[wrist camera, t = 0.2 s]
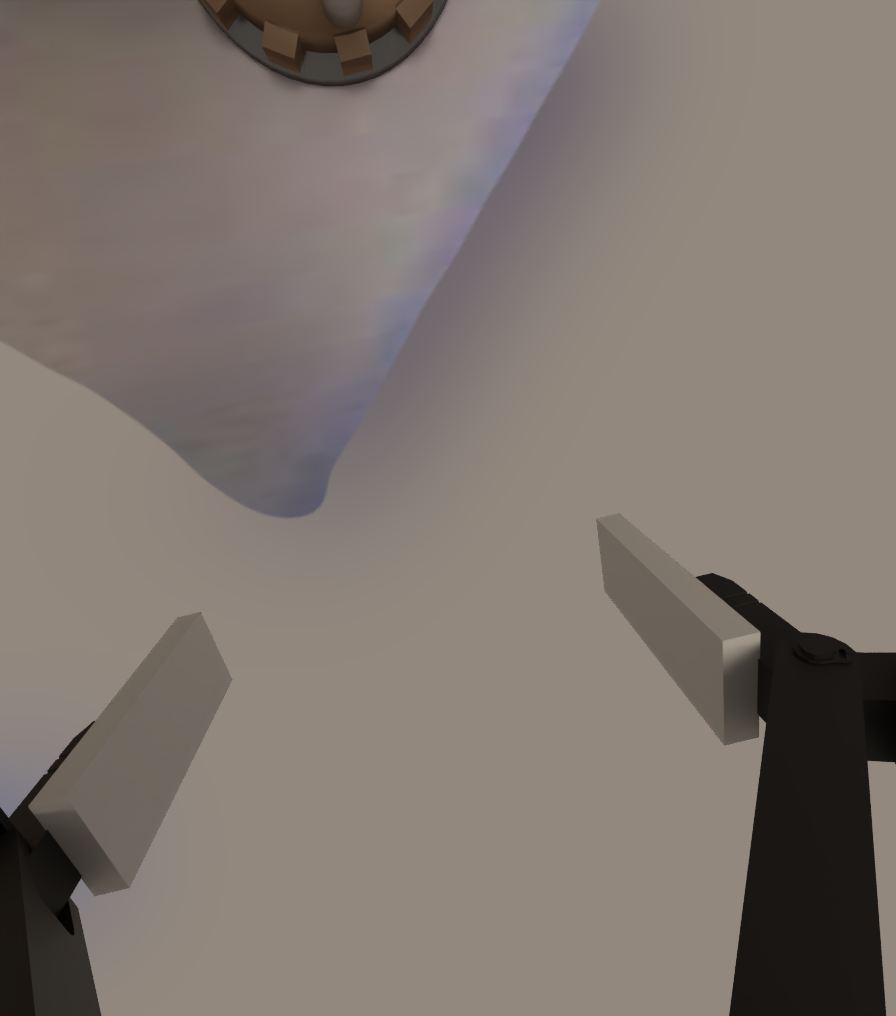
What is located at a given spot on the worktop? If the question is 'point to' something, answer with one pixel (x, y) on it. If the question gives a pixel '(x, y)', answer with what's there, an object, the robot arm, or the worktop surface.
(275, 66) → the base plate
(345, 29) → the sprocket
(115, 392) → the worktop surface
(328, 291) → the worktop surface
